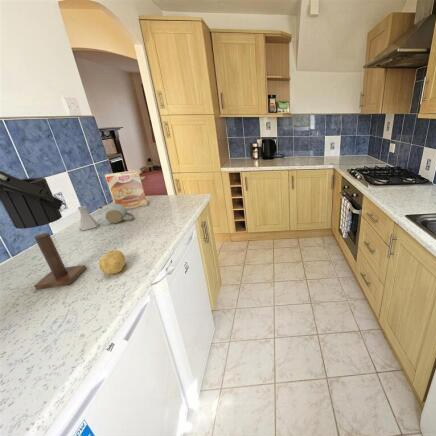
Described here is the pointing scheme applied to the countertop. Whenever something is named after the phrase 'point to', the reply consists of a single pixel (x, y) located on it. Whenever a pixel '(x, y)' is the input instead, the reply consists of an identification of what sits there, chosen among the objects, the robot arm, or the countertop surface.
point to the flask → (86, 219)
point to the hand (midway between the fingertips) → (43, 205)
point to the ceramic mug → (118, 213)
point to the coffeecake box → (126, 189)
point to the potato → (112, 262)
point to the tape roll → (29, 207)
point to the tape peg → (55, 265)
